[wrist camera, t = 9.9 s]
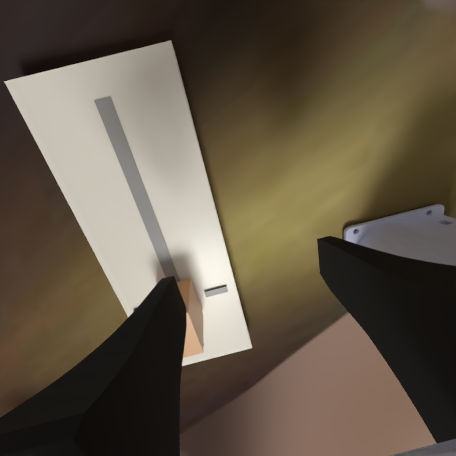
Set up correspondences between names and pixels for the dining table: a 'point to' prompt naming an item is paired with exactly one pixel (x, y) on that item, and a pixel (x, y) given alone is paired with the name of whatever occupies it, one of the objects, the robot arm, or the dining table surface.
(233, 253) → the dining table surface
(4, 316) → the dining table surface
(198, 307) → the fader tab
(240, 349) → the panel
